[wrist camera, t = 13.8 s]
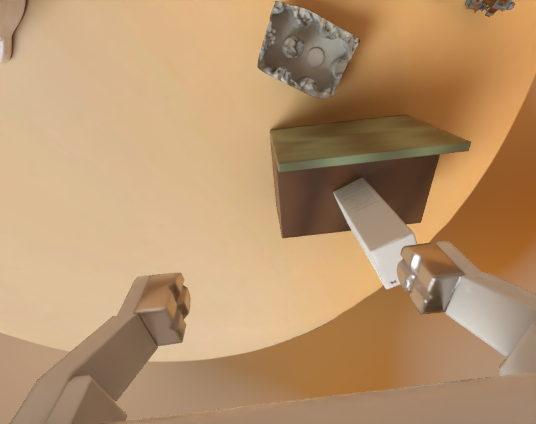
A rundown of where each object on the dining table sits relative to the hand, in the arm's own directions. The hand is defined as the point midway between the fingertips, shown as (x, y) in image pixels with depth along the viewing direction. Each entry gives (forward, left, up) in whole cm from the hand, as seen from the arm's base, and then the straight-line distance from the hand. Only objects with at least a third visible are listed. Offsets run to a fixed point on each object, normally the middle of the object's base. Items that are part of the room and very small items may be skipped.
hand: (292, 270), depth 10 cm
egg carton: (+6, +6, -31) cm, 32 cm away
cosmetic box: (+11, -11, -22) cm, 27 cm away
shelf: (+11, -10, -31) cm, 34 cm away
